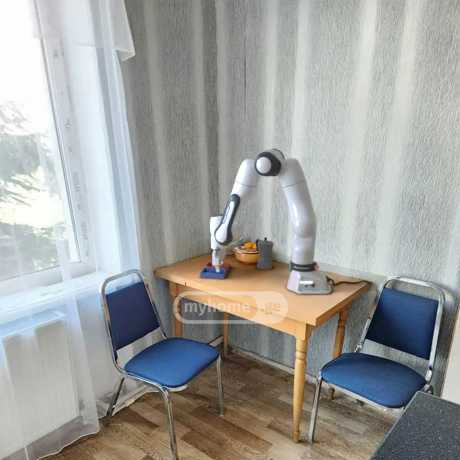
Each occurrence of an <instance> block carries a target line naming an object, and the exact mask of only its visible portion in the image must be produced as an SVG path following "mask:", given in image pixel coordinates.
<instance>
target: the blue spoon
mask: <svg viewBox="0 0 460 460" xmlns="http://www.w3.org/2000/svg"><path fill="white" fill-rule="evenodd" d="M206 273H217V274H223V273H224V271H223V270H220V271H219V272H216V270H212V271H211V272H206Z"/></svg>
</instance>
